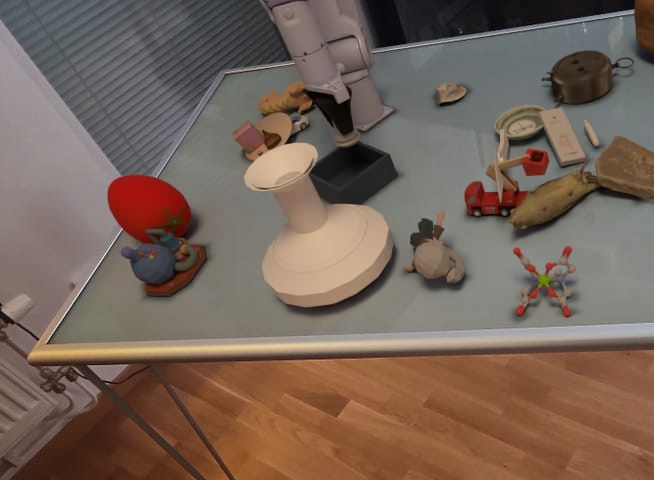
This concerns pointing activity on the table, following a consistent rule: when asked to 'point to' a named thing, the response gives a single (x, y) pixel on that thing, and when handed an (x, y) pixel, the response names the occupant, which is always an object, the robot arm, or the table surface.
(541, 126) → the saucer
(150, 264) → the model
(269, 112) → the toy
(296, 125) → the toy car
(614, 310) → the table surface
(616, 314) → the table surface
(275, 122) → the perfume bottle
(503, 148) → the knife
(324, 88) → the robot arm
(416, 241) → the toy
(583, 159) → the pregnancy test
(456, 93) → the fossil
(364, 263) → the white vase
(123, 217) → the tomato
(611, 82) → the alarm clock
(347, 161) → the bin
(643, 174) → the decorative stone
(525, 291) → the molecular model
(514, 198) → the toy fire truck
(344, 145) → the rook chess piece
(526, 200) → the root vegetable
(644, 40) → the bread
